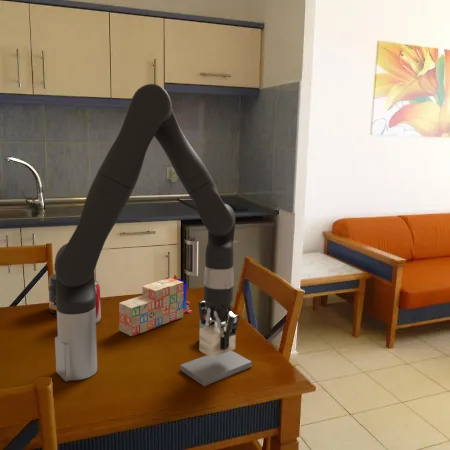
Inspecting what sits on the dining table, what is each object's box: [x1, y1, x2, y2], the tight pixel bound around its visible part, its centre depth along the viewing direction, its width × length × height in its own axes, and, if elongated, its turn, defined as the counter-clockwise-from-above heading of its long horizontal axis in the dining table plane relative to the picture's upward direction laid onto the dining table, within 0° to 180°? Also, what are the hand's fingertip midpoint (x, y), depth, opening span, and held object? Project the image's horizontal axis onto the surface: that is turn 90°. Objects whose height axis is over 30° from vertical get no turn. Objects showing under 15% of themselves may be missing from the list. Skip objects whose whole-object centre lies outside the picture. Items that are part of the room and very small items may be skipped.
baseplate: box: [179, 350, 252, 387], centre depth 125 cm, size 16×10×2 cm, turn 131°
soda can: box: [95, 279, 102, 324], centre depth 151 cm, size 7×7×13 cm
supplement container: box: [47, 273, 57, 315], centre depth 160 cm, size 10×10×12 cm
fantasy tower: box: [173, 274, 194, 315], centre depth 164 cm, size 12×12×12 cm
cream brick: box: [198, 322, 237, 358], centre depth 124 cm, size 8×5×6 cm, turn 131°
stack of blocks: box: [118, 277, 184, 337], centre depth 150 cm, size 21×6×12 cm, turn 139°
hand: (217, 345), depth 124 cm, fingers closed on cream brick, 5 cm apart
